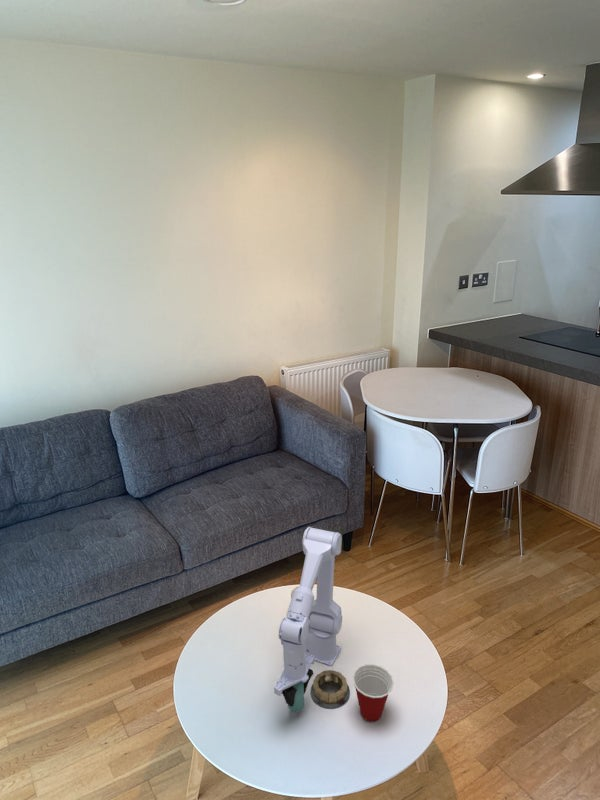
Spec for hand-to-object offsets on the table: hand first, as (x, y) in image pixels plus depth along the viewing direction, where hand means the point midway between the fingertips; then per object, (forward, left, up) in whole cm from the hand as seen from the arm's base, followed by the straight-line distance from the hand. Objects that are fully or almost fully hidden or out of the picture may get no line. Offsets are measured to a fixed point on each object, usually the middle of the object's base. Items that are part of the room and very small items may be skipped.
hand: (295, 698), depth 158 cm
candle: (-15, +36, -5) cm, 39 cm away
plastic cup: (+19, +8, -5) cm, 21 cm away
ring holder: (+6, +10, -5) cm, 13 cm away
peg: (0, 0, -2) cm, 2 cm away
